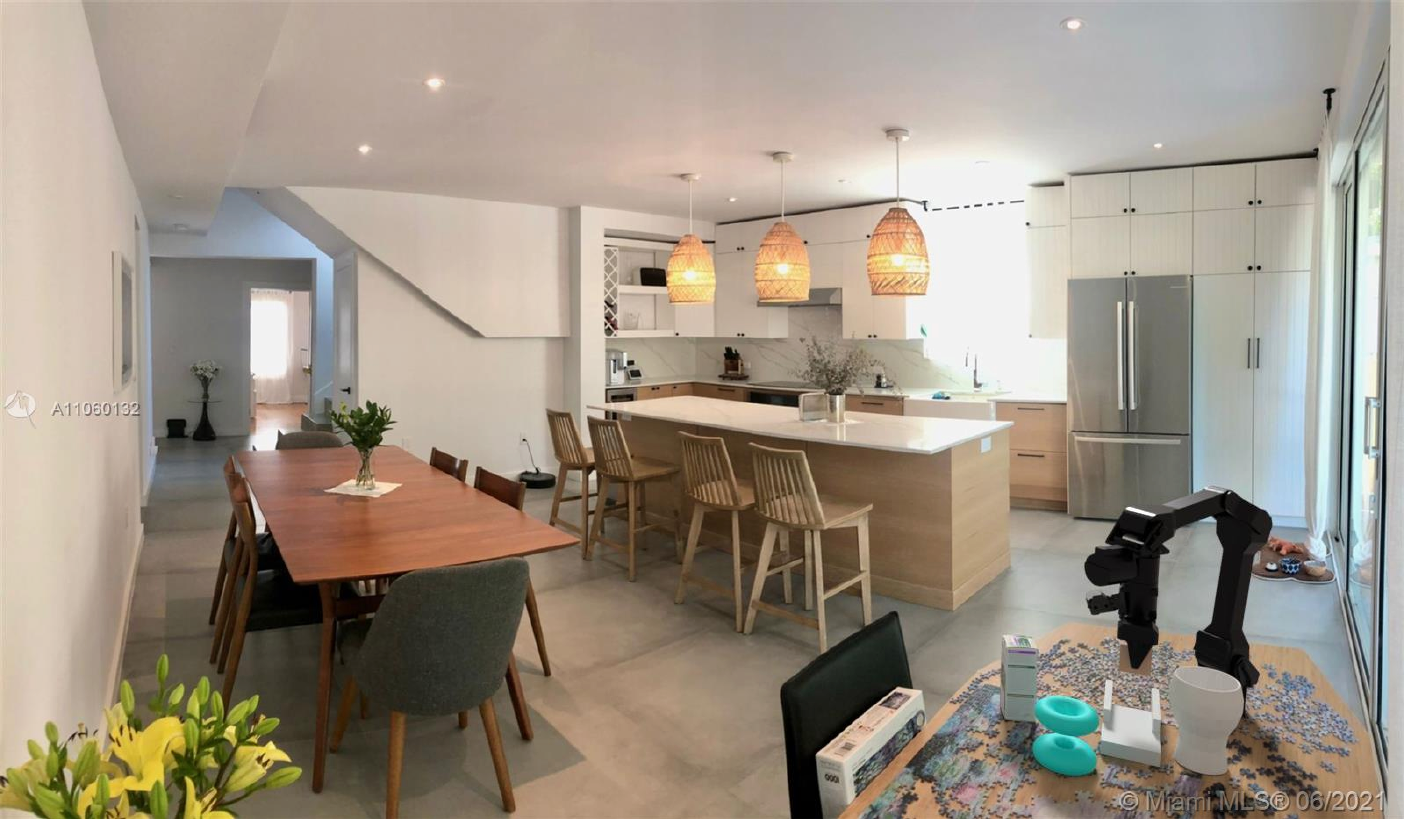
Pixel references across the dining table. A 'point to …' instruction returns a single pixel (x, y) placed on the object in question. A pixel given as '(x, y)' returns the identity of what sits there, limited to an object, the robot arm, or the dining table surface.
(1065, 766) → the donuts
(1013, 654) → the syrup box
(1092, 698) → the dining table surface
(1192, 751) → the cup
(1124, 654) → the terracotta cube
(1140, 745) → the grey channel
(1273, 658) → the dining table surface
